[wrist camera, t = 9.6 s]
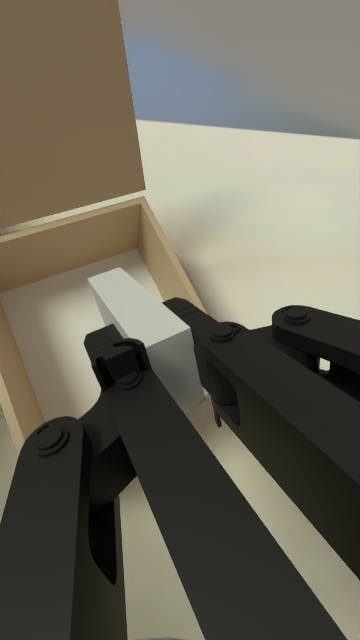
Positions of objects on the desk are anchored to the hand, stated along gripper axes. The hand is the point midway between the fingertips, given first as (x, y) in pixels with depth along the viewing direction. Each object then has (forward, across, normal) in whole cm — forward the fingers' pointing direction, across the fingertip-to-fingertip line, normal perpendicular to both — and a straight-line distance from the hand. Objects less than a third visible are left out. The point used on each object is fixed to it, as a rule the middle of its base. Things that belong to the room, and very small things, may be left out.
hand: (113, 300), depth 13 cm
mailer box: (+14, 0, -10) cm, 18 cm away
